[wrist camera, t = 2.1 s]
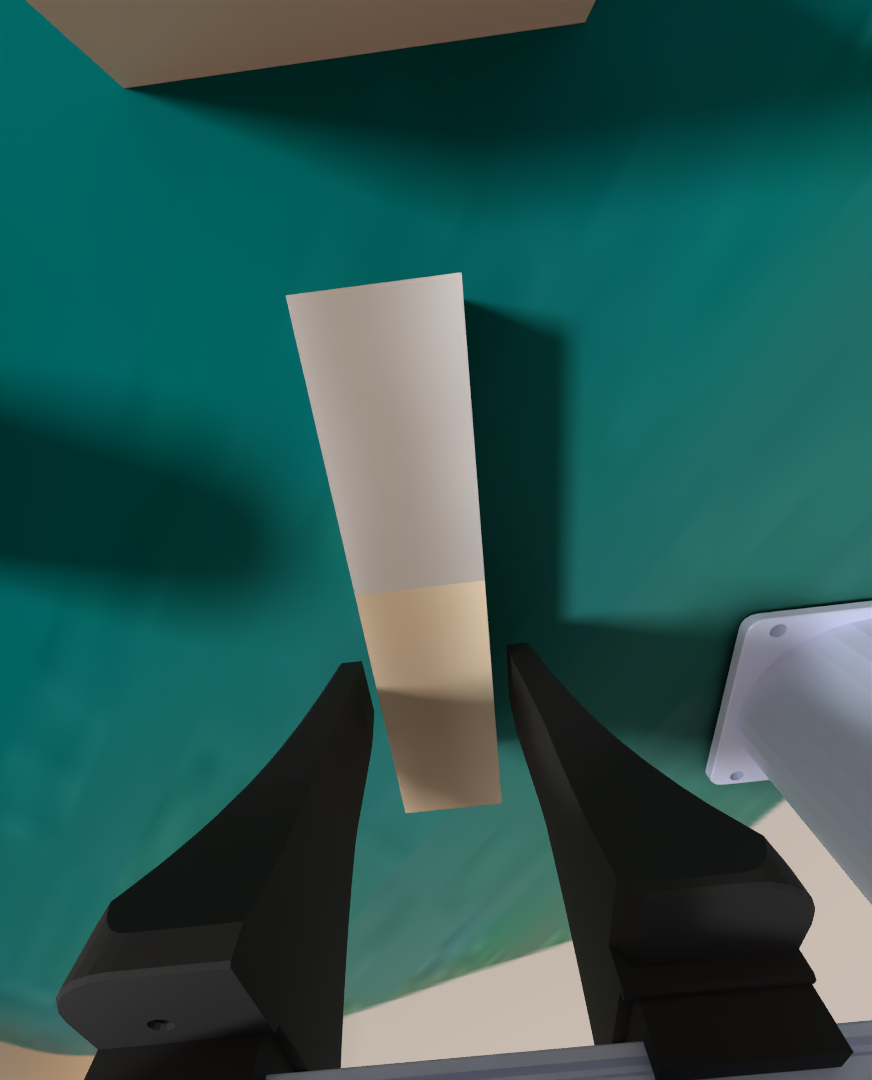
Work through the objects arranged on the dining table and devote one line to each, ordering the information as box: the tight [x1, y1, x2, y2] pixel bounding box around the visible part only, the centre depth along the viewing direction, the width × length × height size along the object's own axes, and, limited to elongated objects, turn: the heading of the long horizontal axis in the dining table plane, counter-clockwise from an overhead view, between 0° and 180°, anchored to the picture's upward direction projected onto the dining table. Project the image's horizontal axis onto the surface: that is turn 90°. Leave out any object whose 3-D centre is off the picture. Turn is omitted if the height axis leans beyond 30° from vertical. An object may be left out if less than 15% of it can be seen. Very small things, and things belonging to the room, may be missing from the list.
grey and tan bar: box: [286, 273, 502, 813], centre depth 11 cm, size 3×14×3 cm, turn 6°
